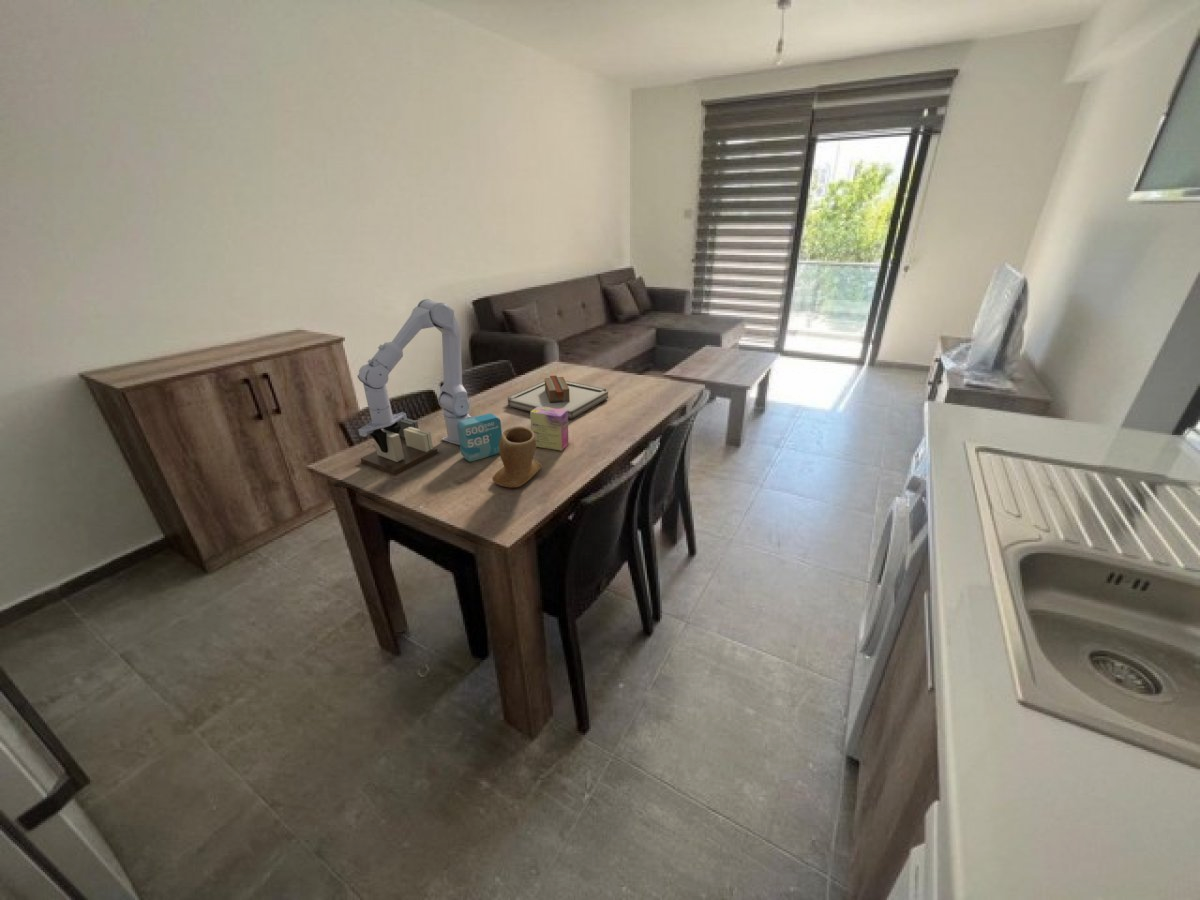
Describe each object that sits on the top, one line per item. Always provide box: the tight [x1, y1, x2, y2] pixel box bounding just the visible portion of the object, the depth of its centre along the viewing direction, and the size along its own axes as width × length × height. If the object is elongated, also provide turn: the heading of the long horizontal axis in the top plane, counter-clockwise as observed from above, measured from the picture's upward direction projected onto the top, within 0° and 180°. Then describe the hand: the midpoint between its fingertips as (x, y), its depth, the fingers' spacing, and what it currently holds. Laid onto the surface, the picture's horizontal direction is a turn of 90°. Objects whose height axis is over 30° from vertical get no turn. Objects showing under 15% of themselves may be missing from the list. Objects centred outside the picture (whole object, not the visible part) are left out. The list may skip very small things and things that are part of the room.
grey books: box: [397, 418, 420, 439], centre depth 157 cm, size 9×3×6 cm, turn 59°
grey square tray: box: [507, 375, 609, 420], centre depth 185 cm, size 30×30×8 cm
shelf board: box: [360, 438, 439, 476], centre depth 145 cm, size 15×16×2 cm
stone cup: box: [491, 425, 543, 488], centre depth 131 cm, size 15×12×15 cm
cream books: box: [403, 427, 434, 452], centre depth 147 cm, size 9×3×6 cm, turn 59°
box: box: [529, 406, 569, 452], centre depth 150 cm, size 10×6×12 cm, turn 71°
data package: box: [457, 412, 503, 463], centre depth 144 cm, size 12×4×12 cm, turn 126°
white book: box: [372, 428, 404, 462], centre depth 140 cm, size 9×2×8 cm, turn 59°
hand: (389, 449), depth 141 cm, fingers closed on white book, 2 cm apart
